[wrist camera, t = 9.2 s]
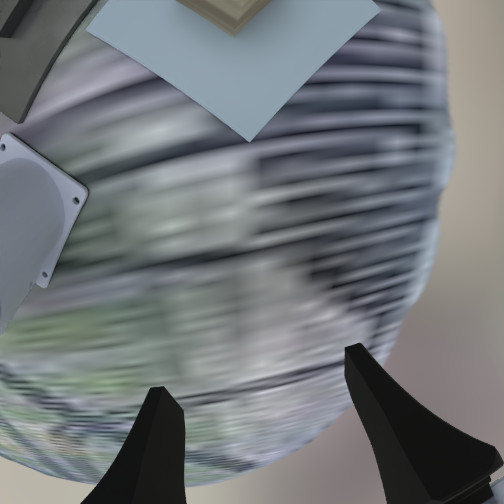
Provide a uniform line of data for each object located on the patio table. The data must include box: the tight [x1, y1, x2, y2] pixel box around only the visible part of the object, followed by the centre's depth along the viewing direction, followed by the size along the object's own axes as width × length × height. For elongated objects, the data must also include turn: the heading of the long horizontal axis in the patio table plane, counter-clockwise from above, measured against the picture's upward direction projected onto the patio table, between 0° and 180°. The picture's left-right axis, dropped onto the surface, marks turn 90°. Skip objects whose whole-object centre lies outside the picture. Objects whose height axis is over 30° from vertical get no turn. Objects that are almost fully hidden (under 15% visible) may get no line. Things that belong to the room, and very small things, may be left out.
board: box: [85, 0, 381, 142], centre depth 12 cm, size 12×12×1 cm
